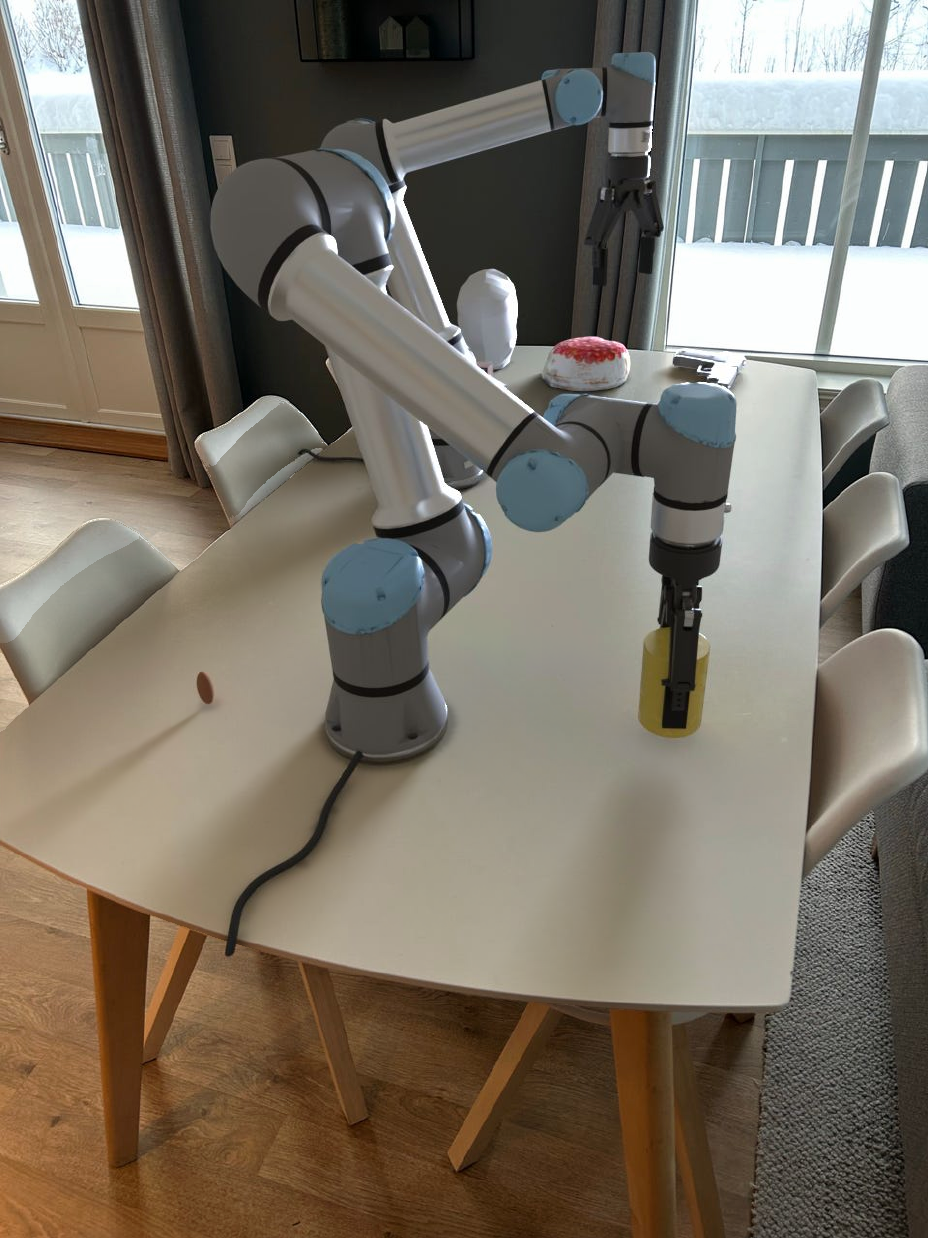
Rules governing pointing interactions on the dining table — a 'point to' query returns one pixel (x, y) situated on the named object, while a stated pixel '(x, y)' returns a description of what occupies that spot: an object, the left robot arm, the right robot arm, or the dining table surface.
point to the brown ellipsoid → (205, 687)
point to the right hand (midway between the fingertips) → (622, 279)
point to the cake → (586, 364)
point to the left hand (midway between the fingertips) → (670, 705)
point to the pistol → (711, 365)
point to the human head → (488, 316)
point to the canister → (653, 691)
